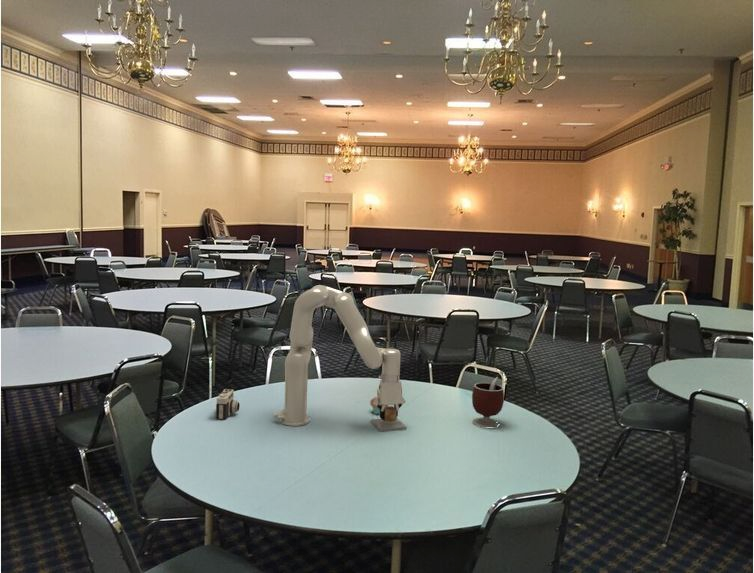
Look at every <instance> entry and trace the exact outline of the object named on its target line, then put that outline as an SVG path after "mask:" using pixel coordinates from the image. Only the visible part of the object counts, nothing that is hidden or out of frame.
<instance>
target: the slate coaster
mask: <svg viewBox="0 0 754 573" xmlns="http://www.w3.org/2000/svg"><path fill="white" fill-rule="evenodd" d="M370 423H371V424H372V425H373V426H374V428H376V429H377V431H379V432H381V433H382V432H391V431H393V432H394V431H403V430H407V425H405V424H404V423H403V422H401V420H399V419H398V418H397V419H396V421H390V422H385V421H384V420H382V419H381V418H373V419H372V418H371V419H370Z"/></svg>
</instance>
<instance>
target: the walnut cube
mask: <svg viewBox="0 0 754 573" xmlns="http://www.w3.org/2000/svg"><path fill="white" fill-rule="evenodd" d="M384 411H385V417H384V421H385V422H390V421H396V413H397V410H396V409H395V408H394V405H388V406H387V407H385V408H384Z"/></svg>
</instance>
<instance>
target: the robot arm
mask: <svg viewBox="0 0 754 573" xmlns="http://www.w3.org/2000/svg"><path fill="white" fill-rule="evenodd" d="M323 306H324V307H327V308H330V309H334V311H335V313H336V314H337V316H338V318H339V320H340V321H341V323H342V324H343V326H344V328H345V330H346V331H347V334H348V335H349V337H350V339H351V341H352V343H353V345H354V346H355V348H356V350H357V352H358V354H359V355H360V358H361V359H362V361H363V362H364V364H365V366H367V367H368V368H369V369H372V370H376V369H379V368H380V367H381V366H382V368H381V370H382V371H381V375H378V379H379V384H378V397H377V396H376V397H377V398H376V399H375V400H374V402H373V404H374V405H375V406H377V407H378V408H379V409H380V414H379V419H382V420H384V417H385V411H384V408H385V405H388V406H393V407H394V408H395V409H396V410H397V413H396V419H398V415H399V410H400V408H401V407H402V406H403V405H404V404H405V403H406V400H405V398H404V397H403V387H402V386H403V385H402V380H400V375H401V373H400V372H401V351H400V350H399V349H397V348H383V347H377V346H376V344H375V342H374V341H373V339H372V336H371V334H370V331H369V328H368V325H367V322H366V321H365V320H364V318H363V316H362V314H361V313H360V311H359V309H358V308H357V305H356V304H355V300H354V297H353V296H352V295H351V294H350V293H348V292H346V291H342V290H339V289H335V288H332V287H329V286H326V285H322V284H318V285H315V286H313V287H312V288H311V289H308V290H305V291H304V292H302V293H301V294H300V295H299V296H298V297H297V299H296V300H295V302H294V306H293V312H292V318H291V323H290V329H289V330H290V331H289V340H290V346H289V352H288V354H286V357H285V360H284V377H285V378H284V406H283V407H284V408H283V410H282V411H280V412H274V413H272V414H273V415H272V417H273V418H274V419H279V421H280V423H281V424H283V425H285V426H291V427H299V426H305V425H308V424H310V422H311V418H310V416H308V415H307V409H308V407H307V405H308V404H307V403H308V377H309V376H308V374H309V372H308V369H309V368H308V367H309V363H310V361H311V356H312V349H313V348H312V347H313V340H314V328H313V326H312V325H313V324H312V323H313V319H314V318H313V317H314V316H313V315H314V311H315V309H317V308H320V307H323ZM378 402H380V405H379V404H378Z"/></svg>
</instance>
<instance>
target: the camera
mask: <svg viewBox="0 0 754 573" xmlns="http://www.w3.org/2000/svg"><path fill="white" fill-rule="evenodd" d="M239 411H240V402H239V401H238V400H236V399H234V389H230V388H225V389H223V391H221V393H220V394H218V396H217V398H216V409H215V413H216V414H215V420H216V421H217V420H218V421H226V420H227V419H228V417H230V415H231V414H235V413H237V412H239Z"/></svg>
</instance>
